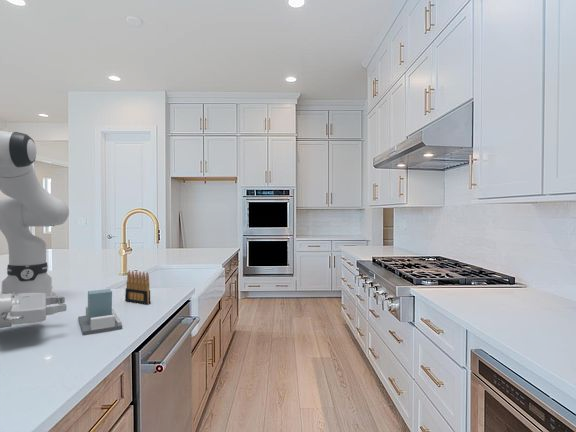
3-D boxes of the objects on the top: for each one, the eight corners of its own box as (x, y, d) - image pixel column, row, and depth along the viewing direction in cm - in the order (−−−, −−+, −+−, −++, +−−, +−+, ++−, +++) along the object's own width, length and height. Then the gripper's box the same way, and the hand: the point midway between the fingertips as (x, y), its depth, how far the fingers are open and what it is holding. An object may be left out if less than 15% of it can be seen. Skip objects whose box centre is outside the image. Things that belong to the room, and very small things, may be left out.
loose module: (87, 320, 105) (87, 291, 105) (109, 317, 108) (109, 288, 108) (88, 324, 101) (89, 294, 101) (111, 321, 105) (112, 291, 105)
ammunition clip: (150, 303, 129) (151, 271, 129) (146, 305, 127) (147, 272, 127) (128, 300, 132) (129, 269, 132) (124, 301, 131) (125, 270, 131)
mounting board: (78, 319, 108) (78, 307, 108) (113, 314, 114) (113, 302, 114) (82, 335, 95) (83, 320, 95) (122, 328, 101) (122, 315, 101)
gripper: (-1, 308, 83) (67, 300, 91) (7, 291, 100) (64, 286, 108) (-1, 333, 83) (67, 324, 91) (7, 312, 100) (63, 306, 108)
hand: (65, 303), depth 100 cm, fingers open, 8 cm apart
